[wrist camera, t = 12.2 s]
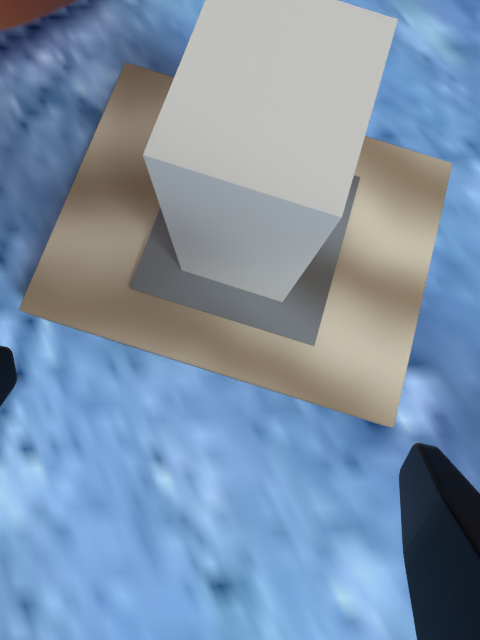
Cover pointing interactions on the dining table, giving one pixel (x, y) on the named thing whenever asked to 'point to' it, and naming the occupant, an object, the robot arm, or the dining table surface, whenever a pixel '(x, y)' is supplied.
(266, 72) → the block
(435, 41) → the dining table surface
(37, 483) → the dining table surface
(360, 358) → the board
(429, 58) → the dining table surface
